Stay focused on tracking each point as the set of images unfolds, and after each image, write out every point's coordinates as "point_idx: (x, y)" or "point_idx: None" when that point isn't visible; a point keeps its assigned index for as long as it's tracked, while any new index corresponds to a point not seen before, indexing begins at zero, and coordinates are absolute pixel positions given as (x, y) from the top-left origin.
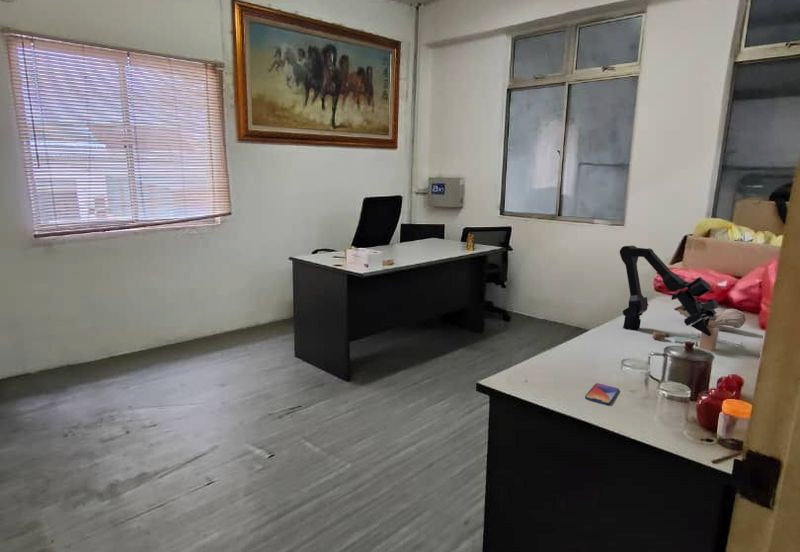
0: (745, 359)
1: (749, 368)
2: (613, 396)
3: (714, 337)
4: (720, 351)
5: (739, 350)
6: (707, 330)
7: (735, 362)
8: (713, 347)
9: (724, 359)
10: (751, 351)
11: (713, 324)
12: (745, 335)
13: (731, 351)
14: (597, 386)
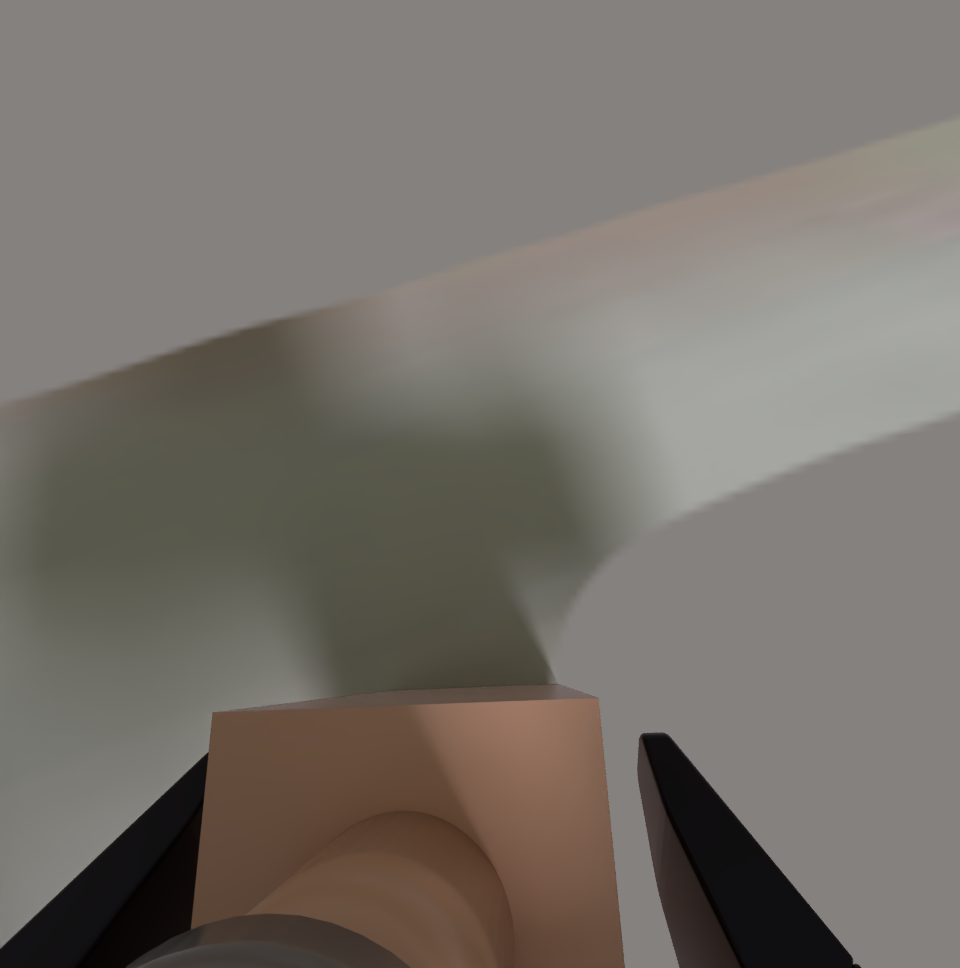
0: (485, 313)
1: (785, 177)
2: None
3: (513, 691)
4: (432, 602)
5: (142, 492)
6: (772, 875)
7: (732, 318)
8: (482, 687)
9: (756, 424)
10: (63, 405)
11: (445, 881)
12: None
13: (287, 525)
14: None
